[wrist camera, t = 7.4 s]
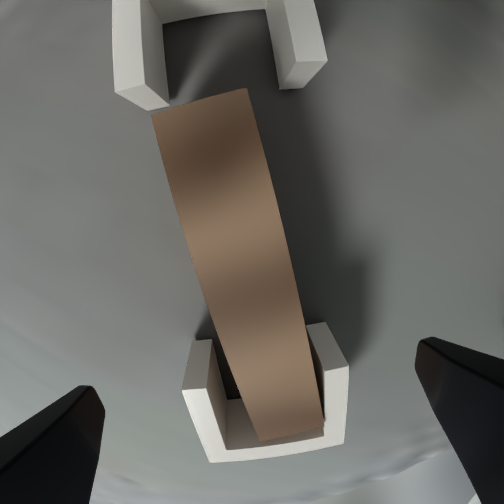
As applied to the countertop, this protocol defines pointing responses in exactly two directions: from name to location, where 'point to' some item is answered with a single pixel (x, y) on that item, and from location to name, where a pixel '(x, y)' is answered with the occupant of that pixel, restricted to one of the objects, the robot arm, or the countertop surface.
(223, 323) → the brown bar
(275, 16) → the cap
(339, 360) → the cap
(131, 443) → the countertop surface
